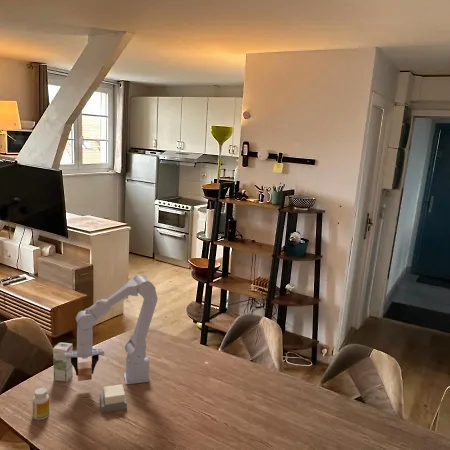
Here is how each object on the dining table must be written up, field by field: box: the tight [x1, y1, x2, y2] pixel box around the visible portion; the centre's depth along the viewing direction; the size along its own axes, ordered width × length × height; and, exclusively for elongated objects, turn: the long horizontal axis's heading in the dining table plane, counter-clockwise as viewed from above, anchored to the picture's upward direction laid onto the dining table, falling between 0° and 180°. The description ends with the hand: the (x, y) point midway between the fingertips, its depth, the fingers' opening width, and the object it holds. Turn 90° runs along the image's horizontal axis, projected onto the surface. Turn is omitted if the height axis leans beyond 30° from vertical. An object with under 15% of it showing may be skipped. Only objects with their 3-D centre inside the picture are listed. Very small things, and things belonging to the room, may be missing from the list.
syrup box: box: [52, 342, 74, 383], centre depth 171 cm, size 6×6×14 cm
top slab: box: [102, 383, 126, 405], centre depth 158 cm, size 7×7×3 cm
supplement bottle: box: [32, 387, 50, 421], centre depth 148 cm, size 5×5×10 cm
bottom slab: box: [99, 391, 128, 414], centre depth 159 cm, size 9×9×3 cm
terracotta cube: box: [77, 360, 93, 382], centre depth 165 cm, size 5×5×5 cm
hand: (84, 373), depth 165 cm, fingers closed on terracotta cube, 5 cm apart
